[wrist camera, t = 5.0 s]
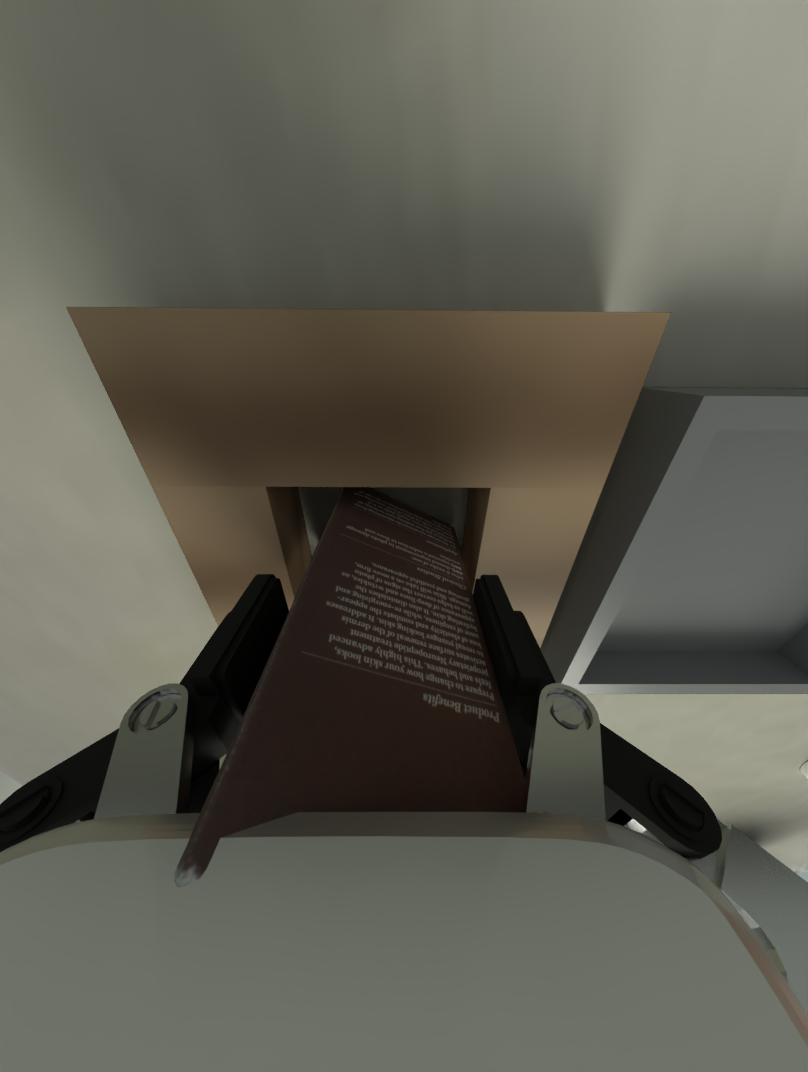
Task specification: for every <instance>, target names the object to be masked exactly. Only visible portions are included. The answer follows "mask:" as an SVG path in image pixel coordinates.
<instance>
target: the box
mask: <svg viewBox="0 0 808 1072" xmlns="http://www.w3.org/2000/svg"><path fill="white" fill-rule="evenodd" d="M524 786H525V779H524V775H523V771H522V768H521V765H520V761H519V757H518V753H517V750H516V746H515V743H514V739H513V736H512V732H511V729H510V726H509V722H508V719H507V715H506V711H505V708H504V704H503V701H502V697H501V694H500V690H499V687H498V683H497V679H496V676H495V672H494V669H493V665H492V662H491V658H490V654H489V651H488V647H487V644H486V640H485V637H484V634H483V630H482V627H481V624H480V620H479V616H478V613H477V609H476V605H475V601H474V597H473V594H472V591H471V587H470V583H469V580H468V577H467V573H466V569H465V566H464V563H463V559H462V555H461V552H460V548H459V544H458V541H457V537H456V534H455V530H454V528H453V527H451V526H449V525H447V524H444V523H442V522H440V521H438V520H436V519H434V518H431V517H429V516H427V515H425V514H423V513H421V512H418V511H416V510H414V509H412V508H410V507H407V506H405V505H403V504H401V503H399V502H396V501H394V500H392V499H390V498H388V497H385V496H383V495H381V494H379V493H377V492H374V491H372V490H370V489H368V488H365V487H343V489H342V490H341V492H340V495H339V498H338V500H337V502H336V505H335V507H334V509H333V511H332V514H331V516H330V518H329V520H328V523H327V525H326V527H325V530H324V532H323V534H322V536H321V539H320V541H319V543H318V545H317V547H316V550H315V552H314V554H313V557H312V559H311V561H310V564H309V566H308V568H307V571H306V573H305V575H304V578H303V580H302V582H301V584H300V587H299V589H298V591H297V594H296V596H295V599H294V601H293V603H292V606H291V608H290V611H289V613H288V615H287V618H286V620H285V622H284V625H283V627H282V630H281V632H280V634H279V636H278V639H277V641H276V643H275V645H274V648H273V650H272V652H271V654H270V657H269V659H268V661H267V664H266V666H265V668H264V671H263V673H262V675H261V677H260V679H259V682H258V684H257V686H256V688H255V690H254V693H253V695H252V697H251V700H250V702H249V704H248V707H247V709H246V711H245V714H244V716H243V718H242V720H241V723H240V725H239V727H238V729H237V732H236V734H235V736H234V739H233V741H232V743H231V745H230V748H229V750H228V752H227V754H226V757H225V759H224V761H223V763H222V766H221V768H220V770H219V772H218V775H217V777H216V779H215V781H214V783H213V786H212V788H211V790H210V792H209V794H208V797H207V799H206V801H205V803H204V806H203V808H202V810H201V812H200V815H199V817H198V819H197V822H196V824H195V826H194V829H193V831H192V833H191V836H190V839H189V842H188V844H187V846H186V848H185V851H184V853H183V855H182V857H181V859H180V861H179V864H178V866H177V869H176V871H175V884H176V886H177V887H184V886H186V885H188V884H191V883H193V882H195V881H196V880H198V879H200V878H201V876H202V875H203V873H204V872H205V870H206V869H207V867H208V865H209V863H210V861H211V858H212V856H213V854H214V852H215V849H216V847H217V845H218V842H219V840H220V838H222V837H224V836H227V835H230V834H233V833H236V832H239V831H242V830H245V829H248V828H251V827H254V826H257V825H260V824H263V823H266V822H269V821H272V820H275V819H278V818H281V817H284V816H288V815H291V814H294V813H297V812H517V813H521V811H522V810H523V807H522V802H523V794H524Z"/></svg>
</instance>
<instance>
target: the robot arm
mask: <svg viewBox="0 0 808 1072" xmlns="http://www.w3.org/2000/svg"><path fill="white" fill-rule="evenodd" d="M473 597H474V601H475V605H476V609H477V613H478V616H479V620H480V624H481V627H482V630H483V634H484V637H485V640H486V644H487V647H488V651H489V654H490V658H491V662H492V665H493V669H494V672H495V676H496V679H497V683H498V687H499V690H500V694H501V697H502V701H503V704H504V708H505V711H506V715H507V719H508V722H509V726H510V729H511V732H512V736H513V739H514V743H515V746H516V750H517V753H518V757H519V761H520V765H521V768H522V771H523V775H524V779H525V786H524V794H523V802H522V807H523V810H522V811H521V813H517V812H297V813H294V814H291V815H288V816H284V817H281V818H278V819H275V820H272V821H269V822H266V823H263V824H260V825H257V826H254V827H251V828H248V829H245V830H242V831H239V832H236V833H233V834H230V835H227V836H224V837H222V838H220V840H219V842H218V845H217V847H216V849H215V852H214V854H213V856H212V858H211V861H210V863H209V865H208V867H207V869H206V870H205V872H204V873H203V875H202V876H201V878H200V879H198V880H196V881H195V882H193V883H191V884H188V885H186V886H184V887H177V886H176V884H175V871H176V869H177V866H178V864H179V861H180V859H181V857H182V855H183V853H184V851H185V848H186V846H187V844H188V842H189V839H190V836H191V833H192V831H193V829H194V826H195V824H196V822H197V819H198V817H199V815H200V812H201V810H202V808H203V806H204V803H205V801H206V799H207V797H208V794H209V792H210V790H211V788H212V786H213V783H214V781H215V779H216V777H217V775H218V772H219V770H220V768H221V766H222V763H223V761H224V759H225V757H226V754H227V752H228V750H229V748H230V745H231V743H232V741H233V739H234V736H235V734H236V732H237V729H238V727H239V725H240V723H241V720H242V718H243V716H244V714H245V711H246V709H247V707H248V704H249V702H250V700H251V697H252V695H253V693H254V690H255V688H256V686H257V684H258V682H259V679H260V677H261V675H262V673H263V671H264V668H265V666H266V664H267V661H268V659H269V657H270V654H271V652H272V650H273V648H274V645H275V643H276V641H277V639H278V636H279V634H280V632H281V630H282V627H283V625H284V622H285V620H286V618H287V615H288V613H289V609H288V605H287V602H286V598H285V595H284V591H283V587H282V584H281V581H280V579H279V578H276V577H275V575H274V574H257V575H255V577H254V578H253V579H252V581H251V582H250V584H249V585H248V587H247V588H246V590H245V591H244V593H243V594H242V596H241V597H240V599H239V600H238V602H237V603H236V605H235V606H234V608H233V609H232V611H230V612H229V613H228V614H227V615H226V616H225V618H224V619H223V621H222V622H221V624H220V625H219V626H218V628H217V629H216V631H215V632H214V634H213V635H212V637H211V638H210V640H209V641H208V643H207V644H206V646H205V647H204V649H203V650H202V651H201V653H200V654H199V656H198V657H197V659H196V660H195V662H194V663H193V665H192V666H191V668H190V669H189V671H188V672H187V673H186V675H185V676H184V678H183V679H182V681H181V682H180V684H166V685H162V686H159V687H157V688H155V689H153V690H151V691H149V692H148V693H146V694H145V695H143V696H142V697H140V698H139V699H138V700H137V701H136V702H135V703H134V704H133V705H132V706H131V707H130V708H129V709H128V711H127V712H126V713H125V715H124V717H123V719H122V721H121V724H120V728H119V729H117V730H115V731H114V732H112V733H110V734H109V735H107V736H105V737H104V738H102V739H100V740H99V741H97V742H95V743H94V744H92V745H90V746H88V747H87V748H85V749H83V750H82V751H80V752H78V753H77V754H75V755H73V756H72V757H70V758H68V759H67V760H65V761H63V762H62V763H60V764H58V765H56V766H55V767H53V768H51V769H50V770H48V771H46V772H45V773H43V774H41V775H40V776H38V777H36V778H35V779H33V780H31V781H30V782H28V783H27V784H25V785H24V786H22V787H21V788H20V789H18V790H17V791H15V792H14V793H13V794H12V795H11V796H10V797H8V798H7V799H6V800H5V801H4V802H2V803H1V804H0V1072H808V882H806V881H805V880H804V879H802V878H801V877H800V876H798V875H797V874H796V873H795V872H793V871H792V870H791V869H789V868H788V867H787V866H785V865H784V864H783V863H781V862H780V861H779V860H777V859H776V858H775V857H773V856H772V855H771V854H770V853H768V852H767V851H766V850H764V849H763V848H762V847H760V846H759V845H758V844H756V843H755V842H754V841H752V840H751V839H750V838H749V837H747V836H746V835H745V834H743V833H742V832H741V831H739V830H738V829H737V828H735V827H734V826H733V825H730V826H728V827H726V826H725V825H724V824H722V823H721V822H720V821H719V820H717V818H716V816H715V814H714V812H713V811H712V809H711V808H710V806H709V805H708V803H707V802H706V801H705V800H704V798H703V797H702V796H701V795H700V794H699V793H698V792H697V791H696V790H695V789H694V788H693V787H692V786H690V785H689V784H688V783H687V782H685V781H684V780H683V779H682V778H680V777H679V776H677V775H676V774H674V773H673V772H671V771H670V770H668V769H667V768H665V767H664V766H662V765H661V764H660V763H658V762H657V761H655V760H654V759H652V758H651V757H649V756H648V755H646V754H645V753H643V752H642V751H640V750H639V749H637V748H636V747H635V746H633V745H632V744H630V743H629V742H627V741H626V740H624V739H623V738H621V737H620V736H618V735H617V734H615V733H614V732H613V731H611V730H610V729H608V728H607V727H605V726H604V725H602V724H601V723H600V721H599V716H598V713H597V711H596V709H595V707H594V705H593V704H592V703H591V702H590V701H589V699H588V698H587V697H586V696H585V695H583V694H582V693H581V692H580V691H578V690H577V689H575V688H573V687H571V686H569V685H565V684H561V683H556V681H555V679H554V677H553V675H552V673H551V671H550V669H549V666H548V664H547V662H546V660H545V658H544V656H543V654H542V652H541V649H540V647H539V645H538V643H537V641H536V639H535V637H534V635H533V633H532V630H531V628H530V626H529V624H528V622H527V620H526V618H525V616H524V614H523V613H522V612H521V611H514V610H513V608H512V606H511V603H510V601H509V599H508V596H507V594H506V592H505V590H504V587H503V585H502V583H501V580H500V578H499V576H498V575H481V577H480V579H476V580H475V585H474V591H473Z"/></svg>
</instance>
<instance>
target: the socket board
mask: <svg viewBox="0 0 808 1072" xmlns="http://www.w3.org/2000/svg"><path fill="white" fill-rule="evenodd" d="M66 308H67V310H68V312H69V314H70V316H71V318H72V320H73V323H74V325H75V327H76V329H77V331H78V333H79V335H80V337H81V339H82V341H83V343H84V346H85V348H86V350H87V352H88V354H89V356H90V358H91V360H92V362H93V364H94V367H95V369H96V371H97V373H98V375H99V377H100V379H101V381H102V383H103V385H104V387H105V390H106V392H107V394H108V396H109V398H110V400H111V402H112V404H113V406H114V408H115V411H116V413H117V415H118V417H119V419H120V421H121V423H122V425H123V427H124V429H125V431H126V434H127V436H128V438H129V440H130V442H131V444H132V446H133V448H134V450H135V452H136V455H137V457H138V459H139V461H140V463H141V465H142V467H143V469H144V471H145V473H146V475H147V478H148V480H149V482H150V484H151V486H152V488H153V490H154V492H155V494H156V496H157V499H158V501H159V503H160V505H161V507H162V509H163V511H164V513H165V515H166V517H167V519H168V522H169V524H170V526H171V528H172V530H173V532H174V534H175V536H176V538H177V540H178V543H179V545H180V547H181V549H182V551H183V553H184V555H185V557H186V559H187V561H188V563H189V566H190V568H191V570H192V572H193V574H194V576H195V578H196V580H197V582H198V584H199V587H200V589H201V591H202V593H203V595H204V597H205V599H206V601H207V603H208V605H209V607H210V610H211V612H212V614H213V616H214V618H215V620H216V622H217V624H218V626H219V625H220V624H221V622H222V621H223V619H224V618H225V616H226V615H227V614H228V613H229V612H230V611H232V609H233V608H234V606H235V605H236V603H237V602H238V600H239V599H240V597H241V596H242V594H243V593H244V591H245V590H246V588H247V587H248V585H249V584H250V582H251V581H252V579H253V578H254V577H255V575H257V574H274V575H275V577H276V578H279V579H280V581H281V584H282V587H283V591H284V595H285V598H286V602H287V605H288V609H289V611H290V608H291V606H292V603H293V601H294V599H295V596H296V594H297V591H298V589H299V587H300V584H301V582H302V580H303V578H304V575H305V573H306V571H307V568H308V566H309V564H310V561H311V559H312V557H311V551H310V546H309V541H308V536H307V531H306V526H305V521H304V516H303V511H302V506H301V501H300V496H299V491H298V487H440V488H470V491H469V498H468V506H467V513H466V521H465V528H464V536H463V543H462V550H461V555H462V559H463V563H464V566H465V569H466V573H467V577H468V580H469V583H470V587H471V591H472V594H473V591H474V585H475V580H476V579H480V577H481V575H498V576H499V578H500V580H501V583H502V585H503V587H504V590H505V592H506V594H507V596H508V599H509V601H510V603H511V606H512V608H513V610H514V611H521V612H522V613H523V614H524V616H525V618H526V620H527V622H528V624H529V626H530V628H531V630H532V633H533V635H534V637H535V639H536V641H537V643H538V645H539V647H540V648H541V645H542V642H543V640H544V637H545V635H546V632H547V630H548V627H549V625H550V622H551V619H552V617H553V614H554V612H555V609H556V607H557V604H558V602H559V599H560V596H561V594H562V591H563V589H564V586H565V584H566V581H567V578H568V576H569V573H570V571H571V568H572V566H573V563H574V561H575V558H576V555H577V553H578V550H579V548H580V545H581V543H582V540H583V537H584V535H585V532H586V530H587V527H588V525H589V522H590V520H591V517H592V514H593V512H594V509H595V507H596V504H597V502H598V499H599V497H600V494H601V491H602V489H603V486H604V484H605V481H606V479H607V476H608V473H609V471H610V468H611V466H612V463H613V461H614V458H615V456H616V453H617V450H618V448H619V445H620V443H621V440H622V438H623V435H624V433H625V430H626V427H627V425H628V422H629V420H630V417H631V415H632V412H633V409H634V407H635V404H636V402H637V399H638V397H639V394H640V392H641V389H642V386H643V384H644V381H645V379H646V376H647V374H648V371H649V368H650V366H651V363H652V361H653V358H654V356H655V353H656V351H657V348H658V345H659V343H660V340H661V338H662V335H663V333H664V330H665V328H666V325H667V322H668V320H669V317H670V315H671V312H565V311H458V310H352V309H245V308H138V307H66Z"/></svg>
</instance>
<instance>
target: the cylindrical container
mask: <svg viewBox="0 0 808 1072" xmlns="http://www.w3.org/2000/svg"><path fill="white" fill-rule="evenodd" d="M800 771H801V772H802V773H803V774H804V775H805V776H806V777H807V778H808V761H807V762H806V763H804V764H803V765H802V766H801V768H800Z"/></svg>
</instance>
